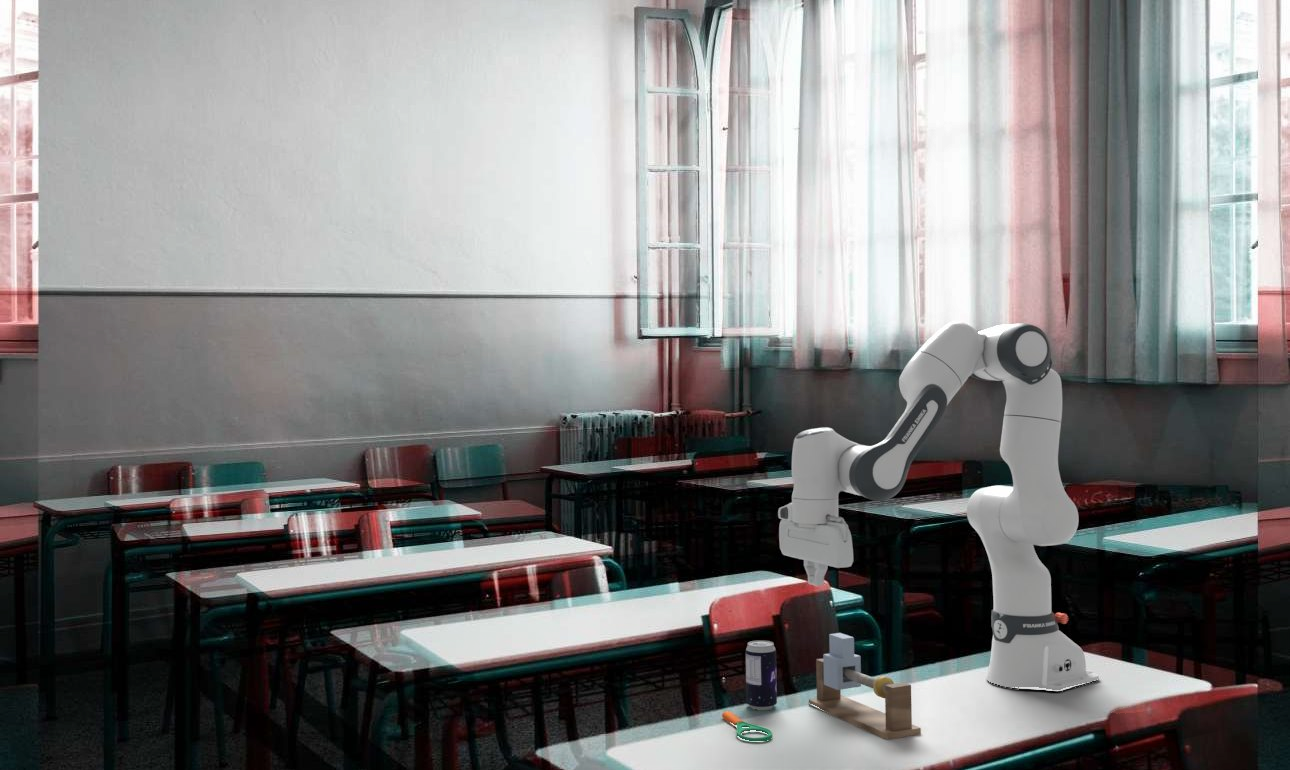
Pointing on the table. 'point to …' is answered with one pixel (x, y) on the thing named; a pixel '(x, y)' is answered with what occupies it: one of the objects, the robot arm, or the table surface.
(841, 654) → the stacked grey blocks
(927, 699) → the table surface
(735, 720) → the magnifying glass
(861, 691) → the table surface
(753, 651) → the beverage can
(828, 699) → the wooden rod rail
